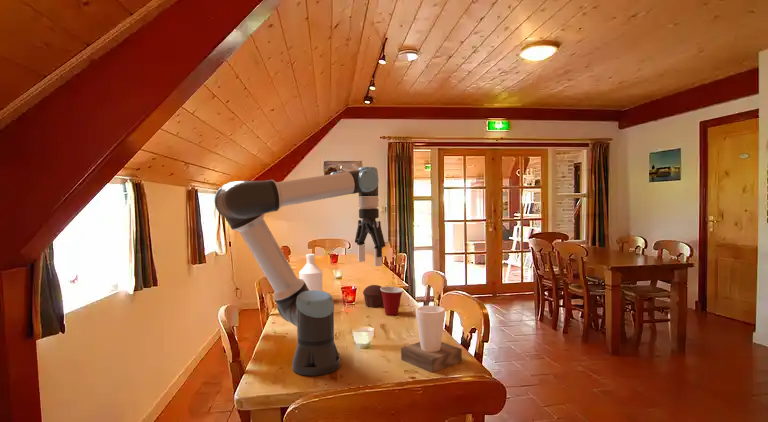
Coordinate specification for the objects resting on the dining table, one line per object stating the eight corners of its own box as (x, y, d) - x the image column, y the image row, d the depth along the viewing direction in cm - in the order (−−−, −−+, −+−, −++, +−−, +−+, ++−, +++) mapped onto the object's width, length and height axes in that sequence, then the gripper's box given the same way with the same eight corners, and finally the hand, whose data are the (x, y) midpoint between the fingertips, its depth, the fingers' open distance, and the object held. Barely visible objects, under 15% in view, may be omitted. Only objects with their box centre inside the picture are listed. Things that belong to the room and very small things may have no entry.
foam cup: (449, 346, 142) (449, 307, 142) (437, 355, 135) (436, 314, 134) (424, 341, 148) (424, 304, 147) (411, 350, 140) (410, 310, 139)
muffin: (388, 303, 218) (388, 283, 218) (383, 308, 207) (383, 288, 207) (366, 302, 221) (365, 283, 221) (360, 307, 210) (359, 287, 210)
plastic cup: (401, 317, 191) (401, 291, 191) (378, 317, 194) (377, 290, 193) (405, 311, 202) (405, 286, 202) (383, 310, 204) (382, 285, 204)
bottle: (295, 302, 222) (294, 254, 222) (314, 298, 230) (313, 252, 230) (307, 306, 214) (306, 256, 213) (327, 302, 222) (326, 254, 221)
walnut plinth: (431, 372, 131) (431, 359, 131) (401, 359, 142) (401, 347, 142) (461, 360, 140) (461, 348, 140) (430, 349, 151) (430, 338, 151)
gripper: (394, 208, 154) (395, 267, 155) (362, 207, 176) (363, 258, 176) (375, 208, 150) (376, 269, 151) (345, 207, 172) (346, 260, 173)
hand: (369, 263), depth 164 cm, fingers open, 13 cm apart
